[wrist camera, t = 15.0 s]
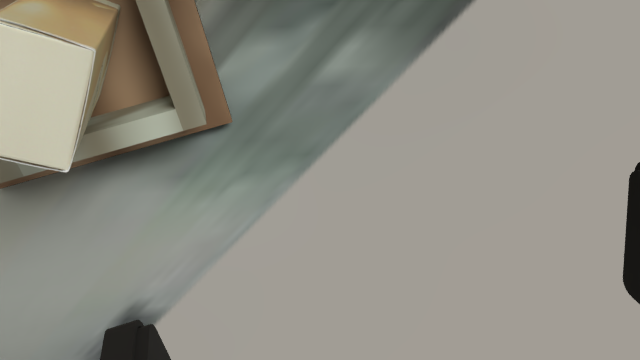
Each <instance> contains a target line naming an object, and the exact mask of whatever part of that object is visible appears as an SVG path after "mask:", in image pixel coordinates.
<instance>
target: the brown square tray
mask: <svg viewBox="0 0 640 360" xmlns="http://www.w3.org/2000/svg"><path fill="white" fill-rule="evenodd" d="M15 1H16V0H0V10H1V9H3V8H5V7H6V6H8V5H10V4H11V3H13V2H15ZM107 1H110V2H112V3H115V4H118V5H120V7H121V8H120V13H119V18H118V23H117V28H116V33H115V38H114V43H113V48H112V52H111V56H110V61H109V64H108V68H107V72H106V76H105V80H104V83H103V86H102V90H101V94H100V96H99V99H98V101H97V103H96V106H95V108H94V110H93V113H92V115H91V118H90V120H89V122H88V125H87V127H86V130H85V132H84V135H83V137H82V139H81V142H80V144H79V147H78V149H77V152H76V154H75V157H74V159H73V162H72V165H71V168H74V167H78V166H81V165H85V164H88V163H91V162H95V161H98V160H102V159H105V158H109V157H112V156H116V155H119V154H123V153H126V152H130V151H133V150H137V149H140V148H144V147H147V146H151V145H154V144H158V143H161V142H165V141H168V140H172V139H175V138H178V137H182V136H185V135H189V134H192V133H196V132H199V131H203V130H206V129H210V128H213V127H217V126H220V125H224V124H227V123H231V122H232V118H231V115H230V111H229V108H228V105H227V102H226V99H225V96H224V92H223V89H222V86H221V83H220V80H219V77H218V74H217V70H216V67H215V64H214V61H213V58H212V55H211V51H210V48H209V45H208V42H207V39H206V36H205V32H204V29H203V26H202V23H201V20H200V17H199V13H198V10H197V7H196V4H195V1H194V0H107ZM71 168H70V169H71ZM57 172H60V171H55V170H48V169H43V168H38V167H33V166H28V165H24V164H20V163H15V162H11V161H6V160H2V159H0V189H1V188H4V187H8V186H11V185H15V184H18V183H22V182H25V181H29V180H32V179H36V178H39V177H43V176H46V175H50V174H53V173H57Z"/></svg>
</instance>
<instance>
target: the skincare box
mask: <svg viewBox="0 0 640 360" xmlns="http://www.w3.org/2000/svg"><path fill="white" fill-rule="evenodd" d="M120 8H121V7H120V5H118V4H115V3H112V2H110V1H107V0H16V1H15V2H13V3H11V4H10V5H8V6H6V7H5V8H3V9H1V10H0V159H2V160H6V161H11V162H15V163H20V164H24V165H28V166H33V167H38V168H43V169H48V170H55V171H60V172H68V171H69V170H70V168H71V165H72V162H73V159H74V157H75V154H76V152H77V149H78V147H79V144H80V142H81V139H82V137H83V135H84V132H85V130H86V127H87V125H88V122H89V120H90V118H91V115H92V113H93V110H94V108H95V106H96V103H97V101H98V99H99V96H100V94H101V90H102V86H103V83H104V80H105V76H106V72H107V68H108V64H109V61H110V56H111V52H112V48H113V43H114V38H115V33H116V28H117V23H118V18H119V13H120Z"/></svg>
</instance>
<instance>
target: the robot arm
mask: <svg viewBox="0 0 640 360" xmlns="http://www.w3.org/2000/svg"><path fill="white" fill-rule="evenodd" d="M623 269H624V270H623V282H624V285H625V288H626V290H627V291H628V293H629V294H630V295H631V296H632V297H633V298H634V299H635V300H636V301H637V302H638V303H639V304H640V162H639V163H638V164H637V166H636V168H635V171H634V172H632V173H631V175H630V178H629V191H628V206H627V222H626V237H625V253H624V268H623ZM100 360H171V359H170V356H169V354H168V353H167V350H166V348H165V346H164V344H163V342H162V340H161V338H160V336H159V334H158V332H157V330H156V328H155V326H154V325H153V324H150V325H147V326H144V325H143V323H142V322H141V321H140V320H135V321H132V322H129V323H126V324H123V325H119V326H116V327H113V328H110V329H107V330H106V331H105V335H104V340H103V346H102V352H101V358H100Z"/></svg>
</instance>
